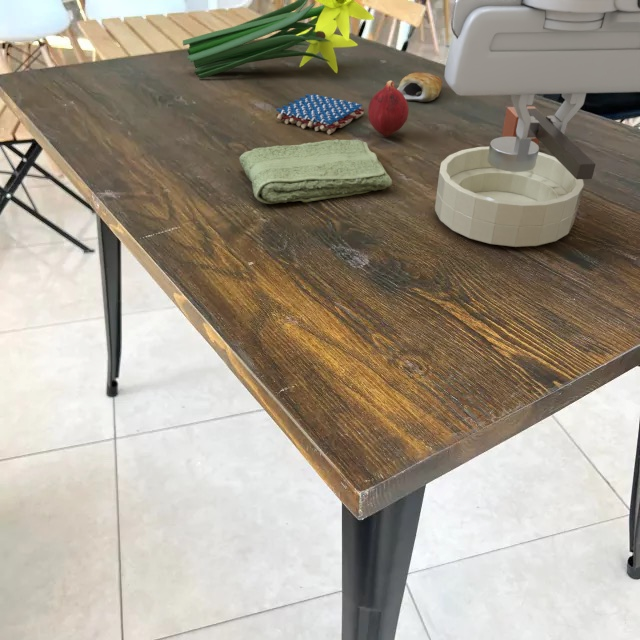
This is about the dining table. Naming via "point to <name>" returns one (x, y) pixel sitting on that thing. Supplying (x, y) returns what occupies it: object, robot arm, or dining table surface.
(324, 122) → the woven mat
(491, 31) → the robot arm
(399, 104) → the onion
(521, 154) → the ladle
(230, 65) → the daffodil flowers
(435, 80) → the pastry
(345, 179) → the washcloth
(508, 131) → the terracotta upright block
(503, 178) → the bowl
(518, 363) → the dining table surface
